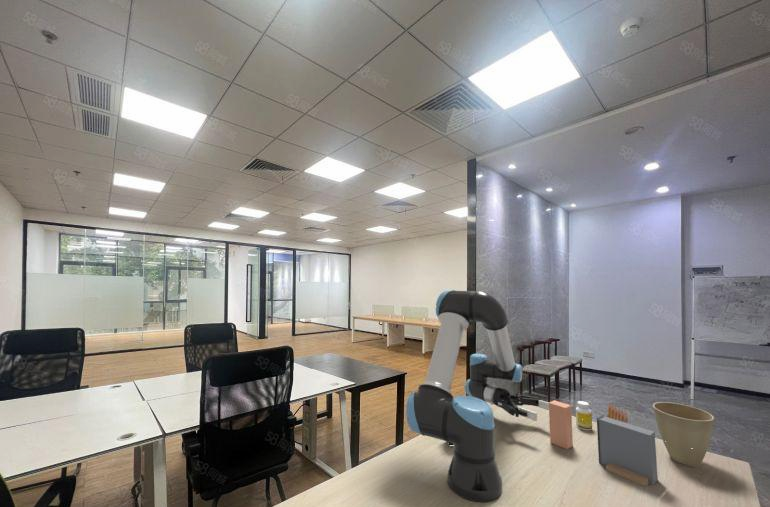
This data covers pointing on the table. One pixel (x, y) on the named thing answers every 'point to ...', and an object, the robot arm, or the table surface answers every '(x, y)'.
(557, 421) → the stub
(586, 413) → the supplement bottle
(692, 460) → the plant pot
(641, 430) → the ticket block
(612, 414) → the ammunition clip
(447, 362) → the robot arm
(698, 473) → the table surface
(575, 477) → the table surface
